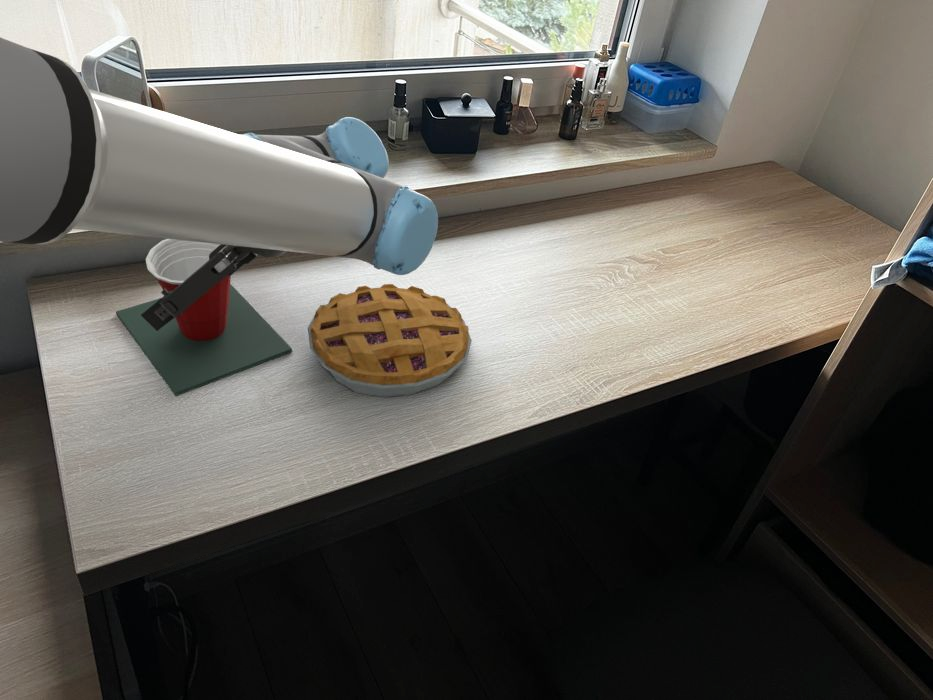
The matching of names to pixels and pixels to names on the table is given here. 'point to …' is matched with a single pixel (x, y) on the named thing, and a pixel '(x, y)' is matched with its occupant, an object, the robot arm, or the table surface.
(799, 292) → the table surface
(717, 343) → the table surface
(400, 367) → the pie
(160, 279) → the plastic cup
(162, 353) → the placemat
